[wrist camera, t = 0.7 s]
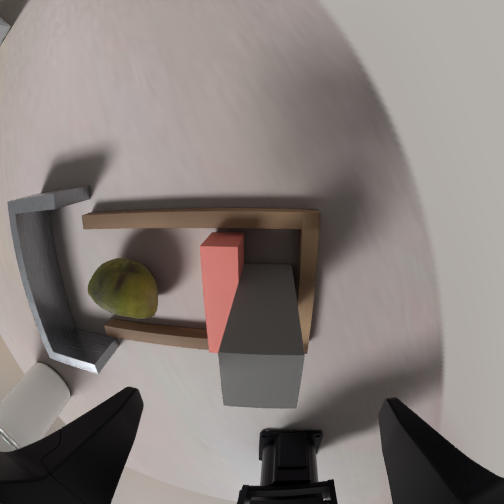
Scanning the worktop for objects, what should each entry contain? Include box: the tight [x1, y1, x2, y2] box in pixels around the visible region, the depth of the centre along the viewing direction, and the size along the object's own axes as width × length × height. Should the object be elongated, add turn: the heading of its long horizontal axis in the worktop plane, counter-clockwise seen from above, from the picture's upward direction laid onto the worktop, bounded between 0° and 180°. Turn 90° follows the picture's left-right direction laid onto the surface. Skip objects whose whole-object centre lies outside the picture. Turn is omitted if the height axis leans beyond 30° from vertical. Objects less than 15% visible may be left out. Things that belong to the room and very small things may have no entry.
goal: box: [8, 186, 119, 374], centre depth 18 cm, size 14×6×4 cm, turn 0°
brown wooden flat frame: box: [82, 208, 320, 354], centre depth 18 cm, size 10×16×1 cm, turn 90°
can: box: [0, 363, 70, 450], centre depth 20 cm, size 6×6×12 cm
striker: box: [200, 232, 305, 408], centre depth 14 cm, size 7×5×9 cm
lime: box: [88, 258, 158, 319], centre depth 17 cm, size 4×5×5 cm
